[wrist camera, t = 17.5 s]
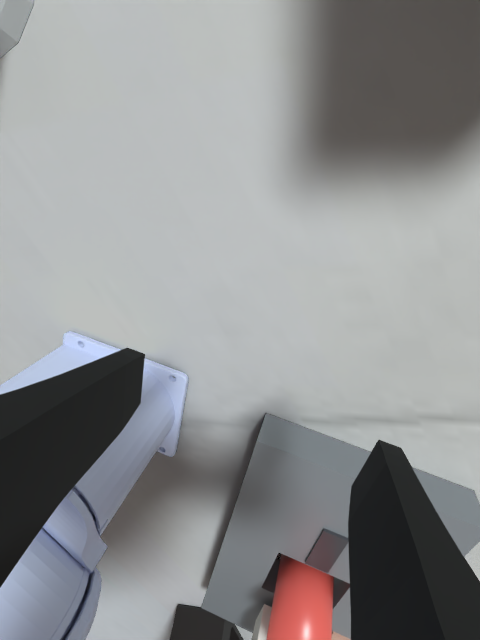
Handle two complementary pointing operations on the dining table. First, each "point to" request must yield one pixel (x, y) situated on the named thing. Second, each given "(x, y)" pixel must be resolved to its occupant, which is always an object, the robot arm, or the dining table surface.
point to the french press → (12, 22)
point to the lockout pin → (301, 603)
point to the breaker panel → (307, 520)
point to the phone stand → (201, 625)
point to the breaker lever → (262, 623)
